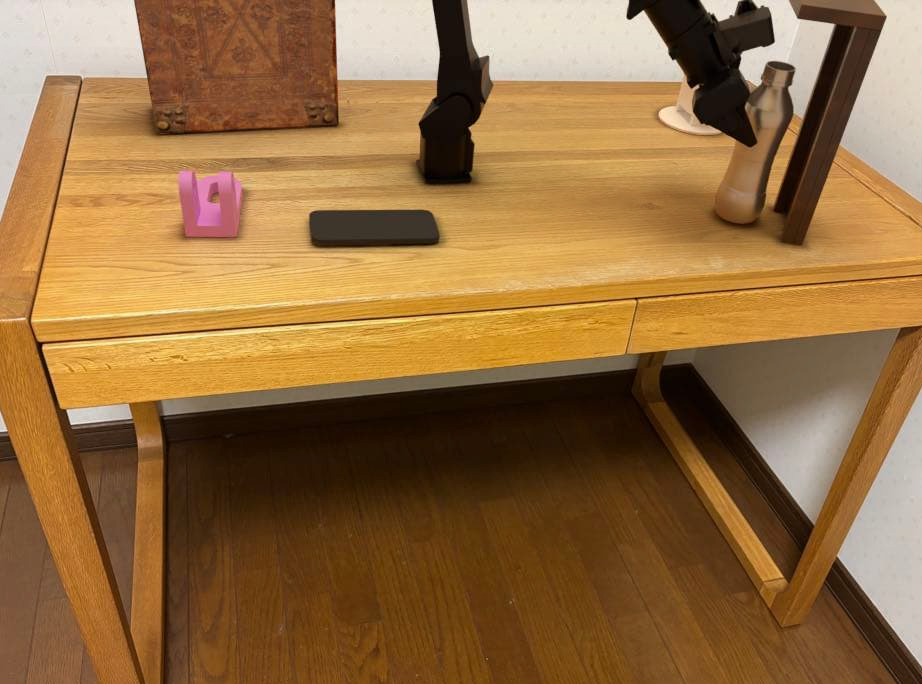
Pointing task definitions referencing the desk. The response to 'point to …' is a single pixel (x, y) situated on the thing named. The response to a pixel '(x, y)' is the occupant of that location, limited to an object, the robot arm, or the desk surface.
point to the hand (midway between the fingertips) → (750, 130)
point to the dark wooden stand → (827, 104)
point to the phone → (372, 227)
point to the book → (240, 64)
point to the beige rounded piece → (685, 113)
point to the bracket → (210, 204)
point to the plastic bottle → (757, 146)
